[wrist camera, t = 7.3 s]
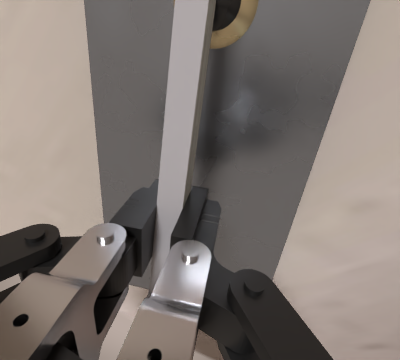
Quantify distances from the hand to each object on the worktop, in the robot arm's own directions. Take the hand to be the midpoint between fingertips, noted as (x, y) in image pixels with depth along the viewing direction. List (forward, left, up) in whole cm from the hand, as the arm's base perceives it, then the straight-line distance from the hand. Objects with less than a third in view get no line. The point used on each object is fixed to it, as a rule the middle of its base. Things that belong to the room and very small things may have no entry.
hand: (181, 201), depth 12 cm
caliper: (0, 0, -1) cm, 1 cm away
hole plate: (0, 0, -4) cm, 4 cm away
